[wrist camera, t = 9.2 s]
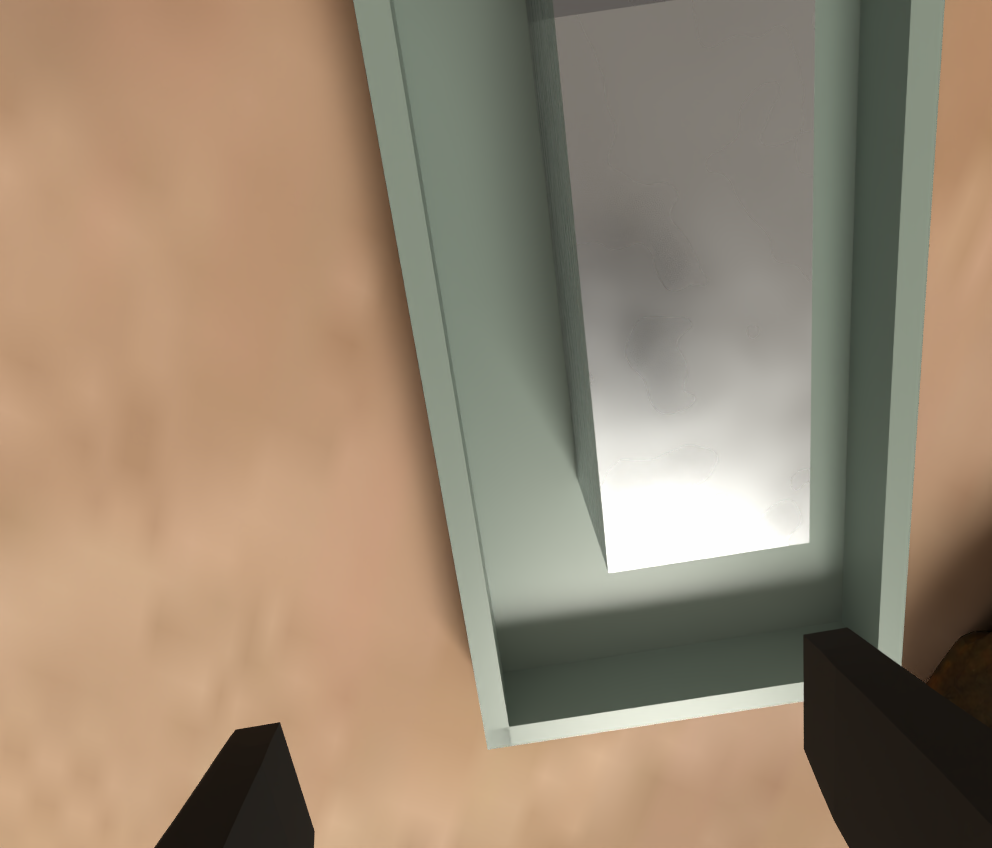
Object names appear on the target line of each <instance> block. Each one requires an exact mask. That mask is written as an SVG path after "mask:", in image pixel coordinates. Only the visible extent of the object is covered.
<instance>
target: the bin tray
mask: <svg viewBox="0 0 992 848" xmlns="http://www.w3.org/2000/svg"><path fill="white" fill-rule="evenodd" d="M353 2H354V8H355V13H356V19H357V24H358V30H359V35H360V41H361V47H362V52H363V58H364V63H365V69H366V74H367V80H368V86H369V91H370V97H371V102H372V108H373V113H374V119H375V125H376V130H377V136H378V141H379V147H380V152H381V158H382V163H383V169H384V175H385V180H386V186H387V191H388V197H389V202H390V208H391V214H392V219H393V225H394V230H395V236H396V241H397V247H398V252H399V258H400V264H401V269H402V275H403V280H404V286H405V291H406V297H407V303H408V308H409V314H410V319H411V325H412V330H413V336H414V342H415V347H416V353H417V358H418V364H419V369H420V375H421V380H422V386H423V392H424V397H425V403H426V408H427V414H428V419H429V425H430V431H431V436H432V442H433V447H434V453H435V458H436V464H437V469H438V475H439V481H440V486H441V492H442V497H443V503H444V508H445V514H446V520H447V525H448V531H449V536H450V542H451V547H452V553H453V559H454V564H455V570H456V575H457V581H458V586H459V592H460V597H461V603H462V609H463V614H464V620H465V625H466V631H467V636H468V642H469V648H470V653H471V659H472V664H473V670H474V675H475V681H476V686H477V692H478V698H479V703H480V709H481V714H482V720H483V725H484V731H485V737H486V742H487V748H488V749H495V748H501V747H508V746H515V745H521V744H528V743H534V742H541V741H547V740H554V739H560V738H567V737H573V736H580V735H587V734H593V733H600V732H606V731H613V730H619V729H626V728H632V727H639V726H645V725H652V724H659V723H665V722H672V721H678V720H685V719H691V718H698V717H704V716H711V715H717V714H724V713H731V712H737V711H744V710H750V709H757V708H763V707H770V706H776V705H783V704H789V703H796V702H803V701H804V679H803V635H804V634H810V633H816V632H822V631H828V630H834V629H840V628H846V627H848V628H849V629H851V630H852V631H853V632H855V633H856V634H858V635H859V636H860V637H862V638H863V639H865V640H866V641H867V642H869V643H870V644H871V645H873V646H874V647H876V648H877V649H878V650H880V651H881V652H882V653H884V654H885V655H887V656H888V657H889V658H891V659H892V660H893V661H895V662H896V663H898V664H899V665H900V666H901V665H902V650H903V634H904V619H905V604H906V588H907V573H908V558H909V542H910V527H911V512H912V496H913V481H914V466H915V450H916V435H917V420H918V404H919V389H920V374H921V358H922V343H923V328H924V312H925V297H926V282H927V266H928V251H929V236H930V220H931V205H932V190H933V174H934V159H935V144H936V129H937V113H938V98H939V83H940V67H941V52H942V37H943V21H944V6H945V0H815V80H814V169H813V258H812V347H811V436H810V525H809V543H803V544H797V545H790V546H784V547H777V548H770V549H764V550H757V551H751V552H744V553H737V554H731V555H724V556H718V557H711V558H705V559H698V560H691V561H685V562H678V563H672V564H665V565H658V566H652V567H645V568H639V569H632V570H625V571H619V572H612V573H608V570H607V567H606V564H605V561H604V558H603V555H602V552H601V549H600V546H599V543H598V540H597V537H596V534H595V531H594V528H593V525H592V522H591V519H590V516H589V513H588V510H587V507H586V504H585V501H584V498H583V495H582V492H581V489H580V486H579V483H578V479H577V469H576V460H575V451H574V442H573V433H572V423H571V414H570V405H569V396H568V387H567V377H566V368H565V359H564V350H563V341H562V332H561V322H560V313H559V304H558V295H557V286H556V276H555V267H554V258H553V249H552V240H551V230H550V221H549V212H548V203H547V194H546V184H545V175H544V166H543V157H542V148H541V138H540V129H539V120H538V111H537V102H536V93H535V83H534V74H533V65H532V56H531V47H530V37H529V28H528V19H527V10H526V1H525V0H353Z"/></svg>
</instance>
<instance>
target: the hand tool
mask: <svg viewBox="0 0 992 848" xmlns="http://www.w3.org/2000/svg"><path fill="white" fill-rule="evenodd" d="M927 685H928V686H930V687H931V688H932V689H934V690H935V691H937V692H938V693H940V694H941V695H942V696H944V697H945V698H947V699H948V700H950V701H951V702H952V703H954V704H955V705H957V706H958V707H960V708H961V709H963V710H964V711H966V712H967V713H969V714H970V715H972V716H973V717H975V718H976V719H978V720H979V721H981V722H982V723H984V724H985V725H987V726H988V727H990V728H991V729H992V632H987V631H979V632H972V633H969V634H967V635H964V636H962V637H961V638H960V639H959V640H958V641H957V642H956V643H955V644H954V645H953V647H952V648H951V649H950V650H949V652H948V653H947V655H946V656H945V657H944V659H943V660H942V661H941V663H940V664H939V666H938V667H937V669H936V670H935V672H934V673H933V675H932V676H931V678H930V679H929V681H928V682H927Z"/></svg>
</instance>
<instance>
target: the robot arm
mask: <svg viewBox="0 0 992 848" xmlns="http://www.w3.org/2000/svg"><path fill="white" fill-rule="evenodd" d="M803 679H804V750H805V753H806V755H807V758H808V760H809V763H810V765H811V767H812V770H813V772H814V775H815V777H816V780H817V782H818V784H819V787H820V789H821V792H822V794H823V796H824V798H825V801H826V803H827V805H828V808H829V810H830V812H831V815H832V817H833V819H834V821H835V823H836V825H837V827H838V828H839V830H840V832H841V834H842V836H843V837H844V839H845V841H846V843H847V845H848V846H849V848H992V729H991V728H990V727H988V726H987V725H985V724H984V723H982V722H981V721H979V720H978V719H976V718H975V717H973V716H972V715H970V714H969V713H967V712H966V711H964V710H963V709H961V708H960V707H958V706H957V705H955V704H954V703H952V702H951V701H950V700H948V699H947V698H945V697H944V696H942V695H941V694H940V693H938V692H937V691H935V690H934V689H932V688H931V687H930V686H928V685H927V684H925V683H924V682H923V681H921V680H920V679H918V678H917V677H916V676H914V675H913V674H911V673H910V672H909V671H907V670H906V669H904V668H903V667H902V666H900V665H899V664H898V663H896V662H895V661H893V660H892V659H891V658H889V657H888V656H887V655H885V654H884V653H882V652H881V651H880V650H878V649H877V648H876V647H874V646H873V645H871V644H870V643H869V642H867V641H866V640H865V639H863V638H862V637H860V636H859V635H858V634H856V633H855V632H853V631H852V630H851V629H849V628H848V627H846V628H840V629H834V630H828V631H822V632H816V633H810V634H804V635H803ZM154 848H314V828H313V825H312V822H311V819H310V816H309V813H308V810H307V806H306V803H305V800H304V797H303V794H302V791H301V787H300V784H299V781H298V778H297V775H296V772H295V768H294V765H293V762H292V759H291V756H290V753H289V749H288V746H287V743H286V740H285V737H284V734H283V730H282V727H281V724H280V722H279V723H273V724H267V725H261V726H255V727H249V728H243V729H237V730H235V731H234V733H233V734H232V735H231V736H230V738H229V739H228V741H227V742H226V744H225V745H224V747H223V748H222V749H221V751H220V752H219V754H218V755H217V757H216V758H215V760H214V761H213V763H212V764H211V766H210V767H209V769H208V770H207V772H206V773H205V775H204V776H203V778H202V779H201V781H200V782H199V784H198V785H197V787H196V788H195V790H194V791H193V793H192V794H191V796H190V797H189V799H188V800H187V802H186V803H185V805H184V806H183V808H182V809H181V810H180V812H179V813H178V815H177V816H176V818H175V819H174V821H173V822H172V823H171V825H170V826H169V828H168V829H167V830H166V832H165V833H164V835H163V836H162V838H161V839H160V840H159V842H158V843H157V845H156V846H155V847H154Z"/></svg>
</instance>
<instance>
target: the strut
mask: <svg viewBox="0 0 992 848" xmlns="http://www.w3.org/2000/svg"><path fill="white" fill-rule="evenodd" d="M525 1H526V10H527V19H528V28H529V37H530V47H531V56H532V65H533V74H534V83H535V93H536V102H537V111H538V120H539V129H540V138H541V148H542V157H543V166H544V175H545V184H546V194H547V203H548V212H549V221H550V230H551V240H552V249H553V258H554V267H555V276H556V286H557V295H558V304H559V313H560V322H561V332H562V341H563V350H564V359H565V368H566V377H567V387H568V396H569V405H570V414H571V423H572V433H573V442H574V451H575V460H576V469H577V479H578V483H579V486H580V489H581V492H582V495H583V498H584V501H585V504H586V507H587V510H588V513H589V516H590V519H591V522H592V525H593V528H594V531H595V534H596V537H597V540H598V543H599V546H600V549H601V552H602V555H603V558H604V561H605V564H606V567H607V570H608V573H612V572H619V571H625V570H632V569H639V568H645V567H652V566H658V565H665V564H672V563H678V562H685V561H691V560H698V559H705V558H711V557H718V556H724V555H731V554H737V553H744V552H751V551H757V550H764V549H770V548H777V547H784V546H790V545H797V544H803V543H809V525H810V436H811V347H812V258H813V169H814V80H815V0H525Z"/></svg>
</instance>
